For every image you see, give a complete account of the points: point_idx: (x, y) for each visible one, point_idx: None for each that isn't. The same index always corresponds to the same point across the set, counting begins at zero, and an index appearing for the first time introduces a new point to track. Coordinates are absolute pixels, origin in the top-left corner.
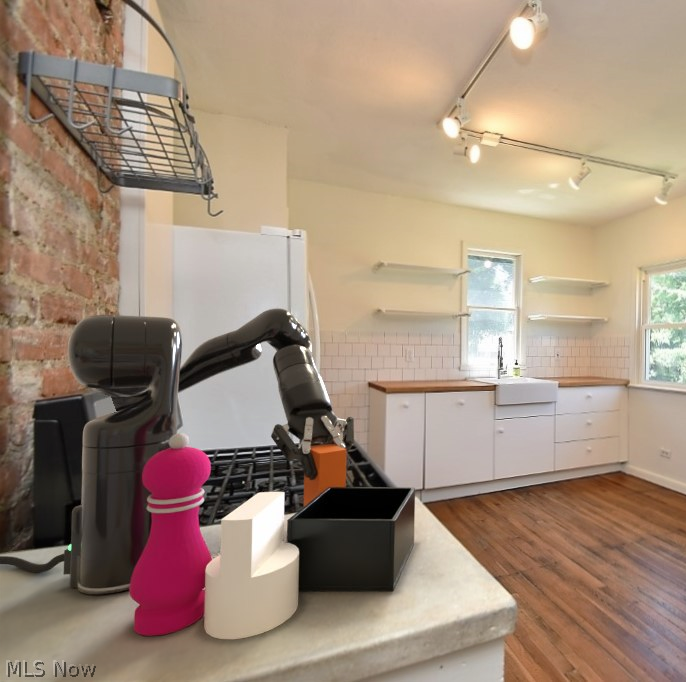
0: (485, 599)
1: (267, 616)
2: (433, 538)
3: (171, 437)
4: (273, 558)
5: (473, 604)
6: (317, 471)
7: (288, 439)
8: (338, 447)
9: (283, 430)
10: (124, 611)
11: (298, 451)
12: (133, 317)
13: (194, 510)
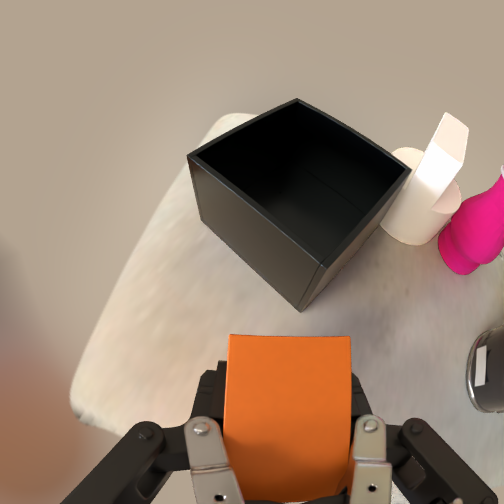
0: (234, 116)
1: None
2: (167, 219)
3: None
4: (411, 165)
5: (246, 117)
6: None
7: (443, 462)
8: (236, 398)
9: (467, 496)
10: (484, 292)
11: (392, 434)
12: None
13: (501, 174)
